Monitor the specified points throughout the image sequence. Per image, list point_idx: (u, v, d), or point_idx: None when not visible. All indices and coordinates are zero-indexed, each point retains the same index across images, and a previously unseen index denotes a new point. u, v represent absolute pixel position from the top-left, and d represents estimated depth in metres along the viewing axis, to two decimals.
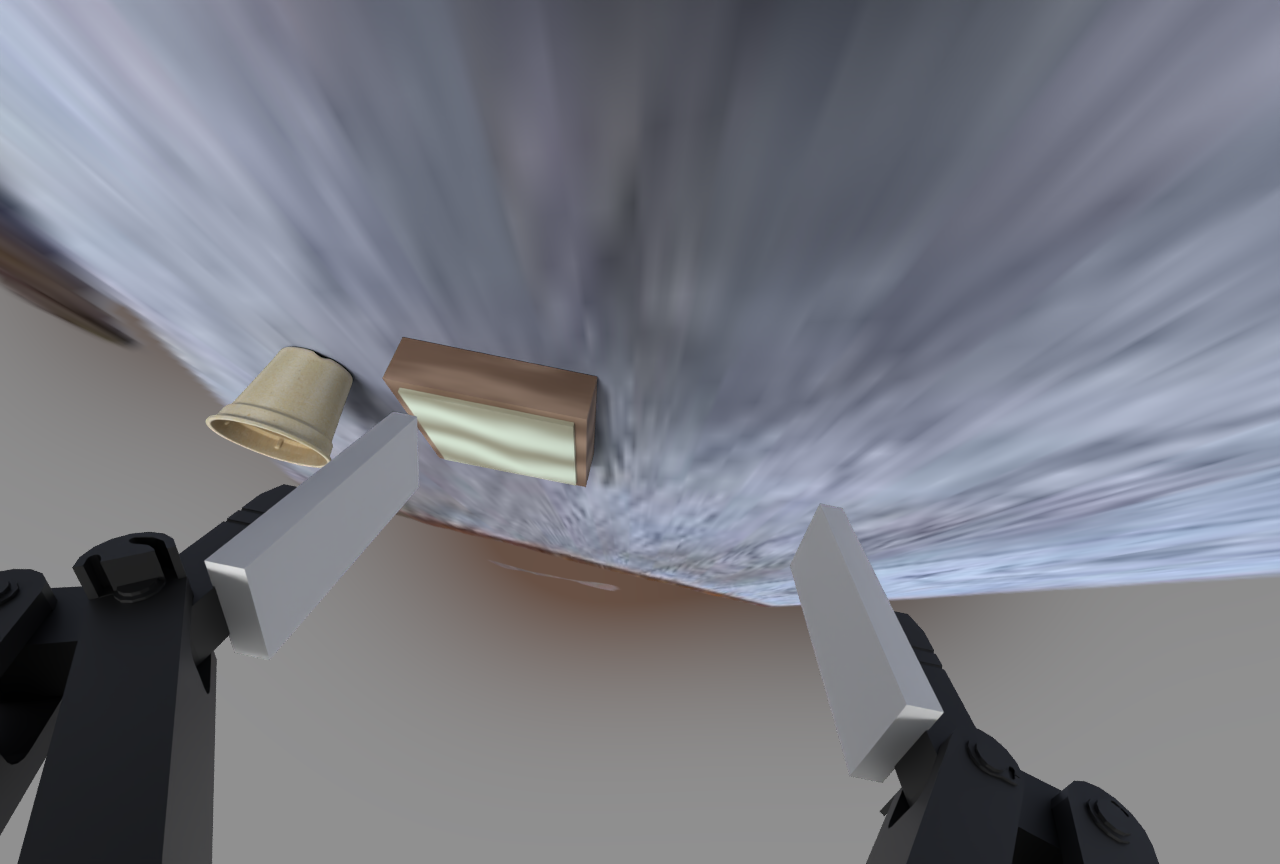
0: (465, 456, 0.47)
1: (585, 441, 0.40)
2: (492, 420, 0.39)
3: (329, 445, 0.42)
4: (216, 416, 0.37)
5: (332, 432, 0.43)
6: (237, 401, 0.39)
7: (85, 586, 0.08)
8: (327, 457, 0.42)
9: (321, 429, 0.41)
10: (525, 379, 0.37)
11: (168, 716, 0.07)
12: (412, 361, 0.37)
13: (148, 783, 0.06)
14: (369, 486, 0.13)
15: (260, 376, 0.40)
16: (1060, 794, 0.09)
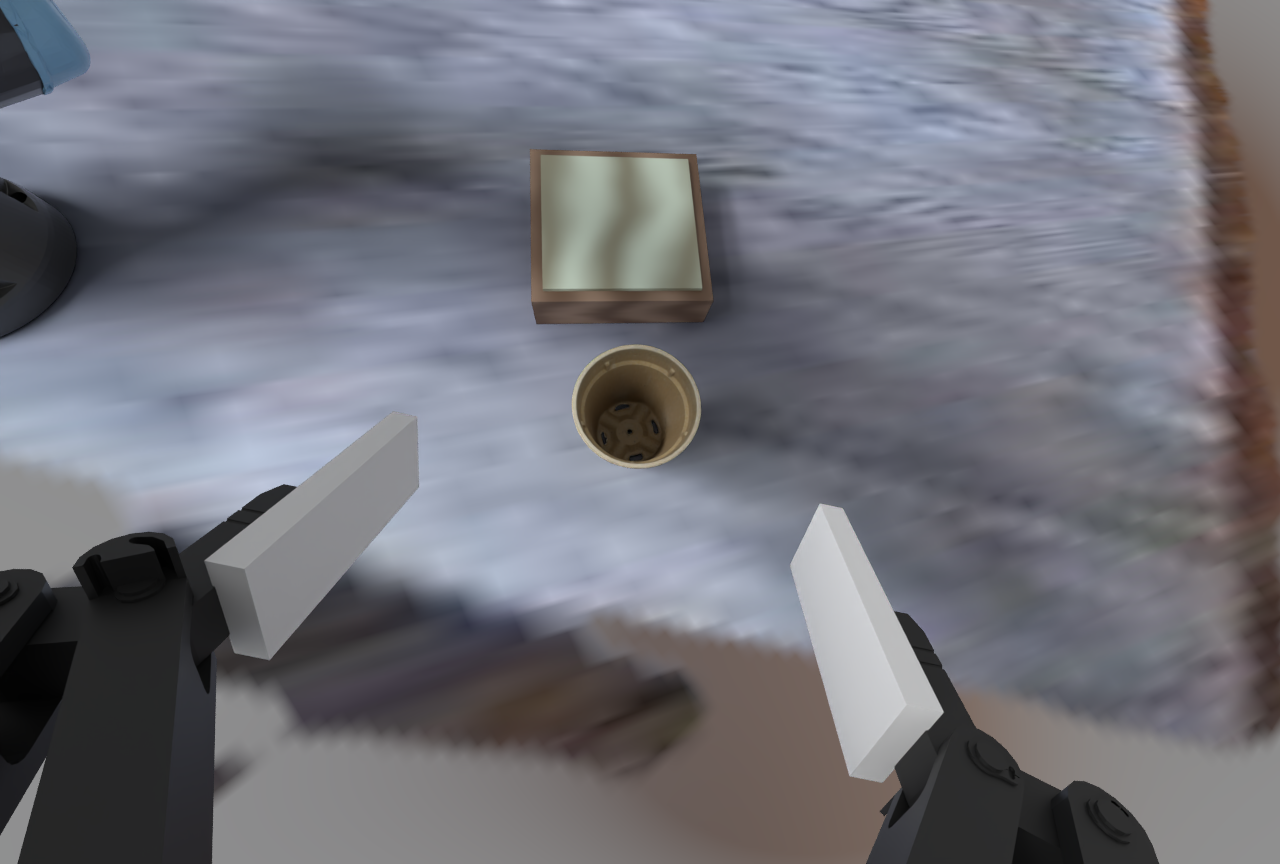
0: (675, 261, 0.42)
1: (575, 151, 0.45)
2: (562, 217, 0.42)
3: (642, 357, 0.36)
4: None
5: (642, 369, 0.38)
6: None
7: (85, 586, 0.08)
8: (640, 345, 0.35)
9: (621, 366, 0.37)
10: None
11: (168, 716, 0.07)
12: None
13: (149, 782, 0.06)
14: (369, 486, 0.13)
15: None
16: (1060, 794, 0.09)
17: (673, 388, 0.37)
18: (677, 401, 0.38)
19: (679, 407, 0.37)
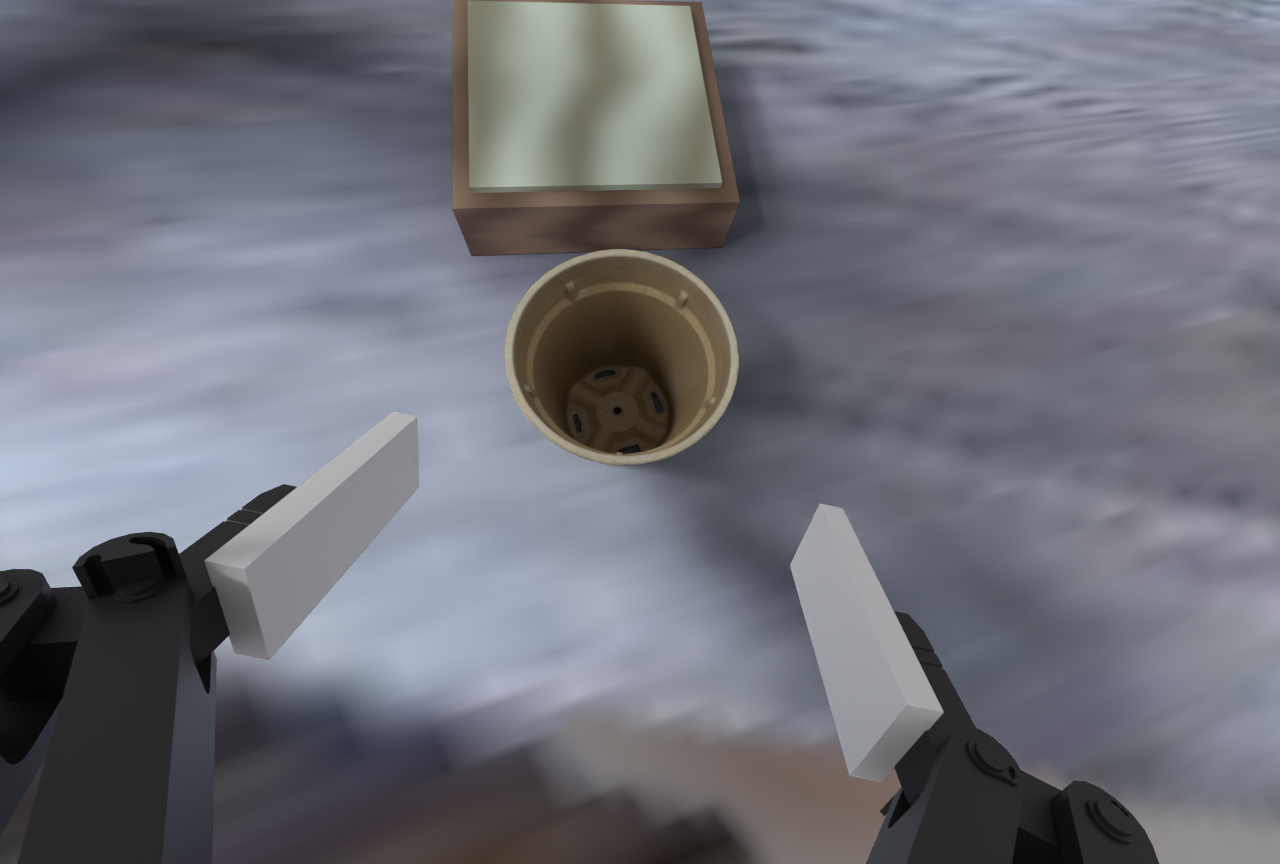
0: (678, 145, 0.27)
1: None
2: (500, 84, 0.27)
3: (630, 276, 0.21)
4: (517, 402, 0.18)
5: (633, 300, 0.22)
6: None
7: (85, 586, 0.08)
8: (626, 250, 0.20)
9: (596, 294, 0.22)
10: None
11: (168, 716, 0.07)
12: None
13: (150, 782, 0.06)
14: (369, 486, 0.13)
15: None
16: (1060, 794, 0.09)
17: (685, 330, 0.22)
18: (693, 351, 0.23)
19: (697, 362, 0.22)
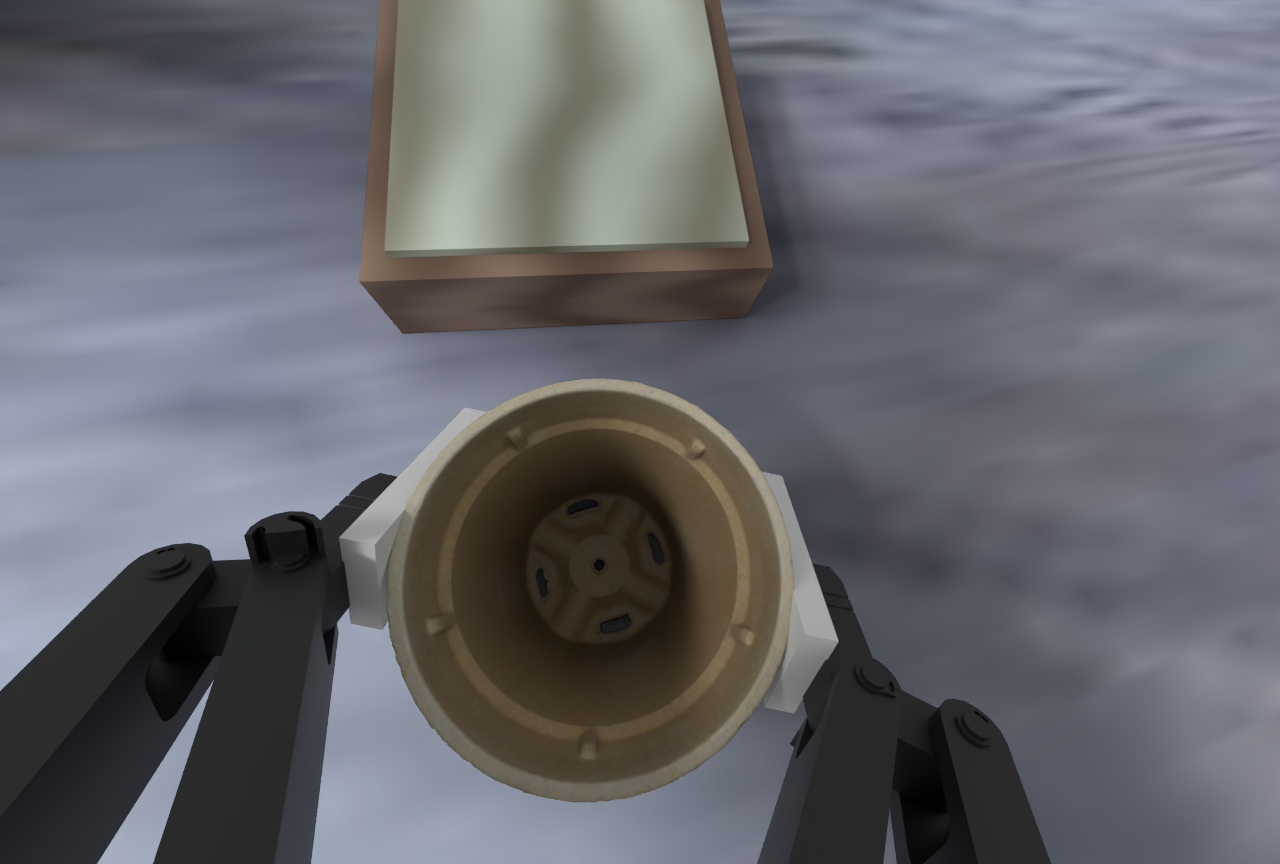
0: (686, 186, 0.19)
1: None
2: (438, 101, 0.20)
3: (613, 411, 0.13)
4: (405, 676, 0.10)
5: None
6: None
7: (251, 553, 0.09)
8: (605, 380, 0.12)
9: (561, 434, 0.14)
10: None
11: (299, 684, 0.07)
12: None
13: (278, 744, 0.07)
14: None
15: None
16: (935, 714, 0.09)
17: (699, 485, 0.14)
18: (711, 516, 0.15)
19: (717, 535, 0.14)
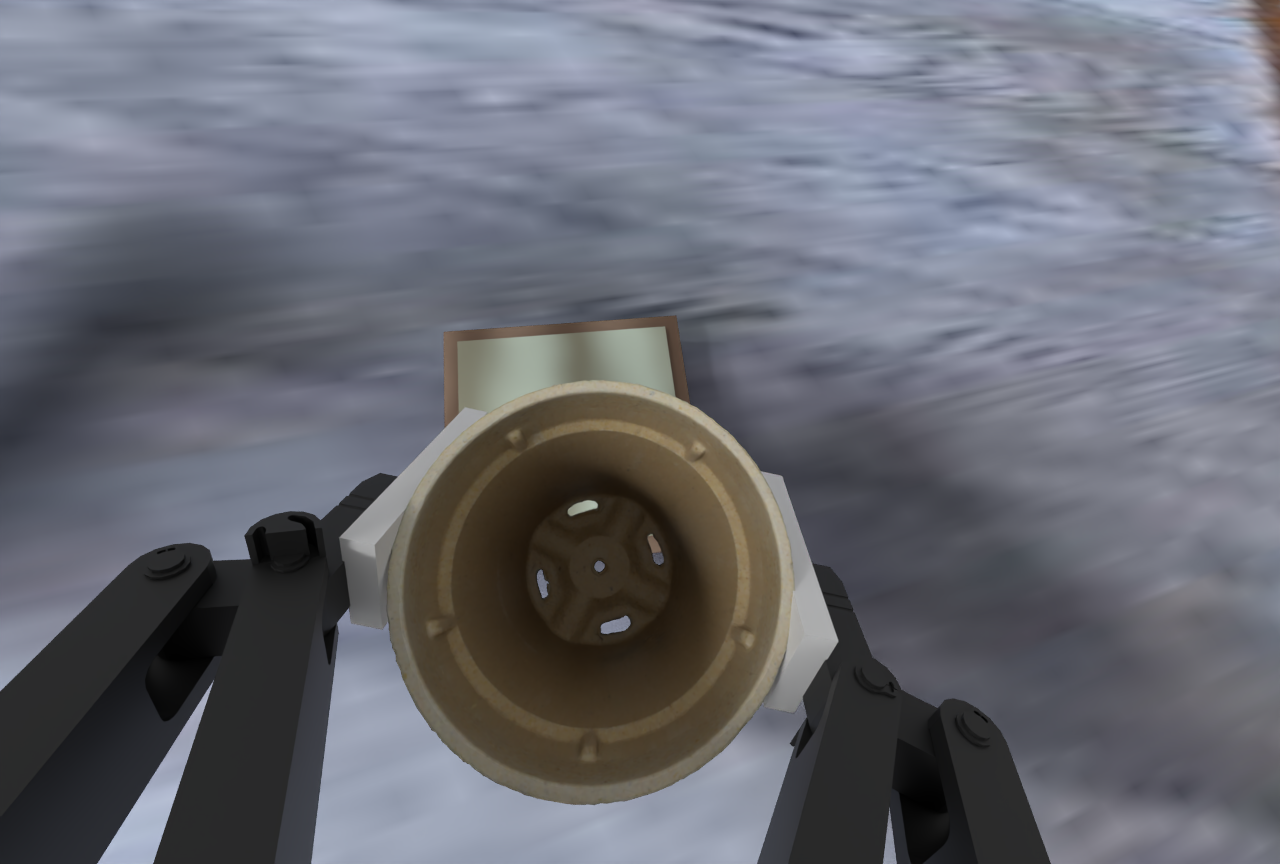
0: None
1: (507, 328, 0.32)
2: None
3: (614, 413, 0.13)
4: (405, 678, 0.10)
5: None
6: None
7: (251, 553, 0.09)
8: (606, 382, 0.12)
9: (561, 436, 0.14)
10: None
11: (299, 684, 0.07)
12: None
13: (278, 744, 0.07)
14: None
15: None
16: (935, 714, 0.09)
17: (699, 486, 0.14)
18: (711, 518, 0.15)
19: (718, 536, 0.14)
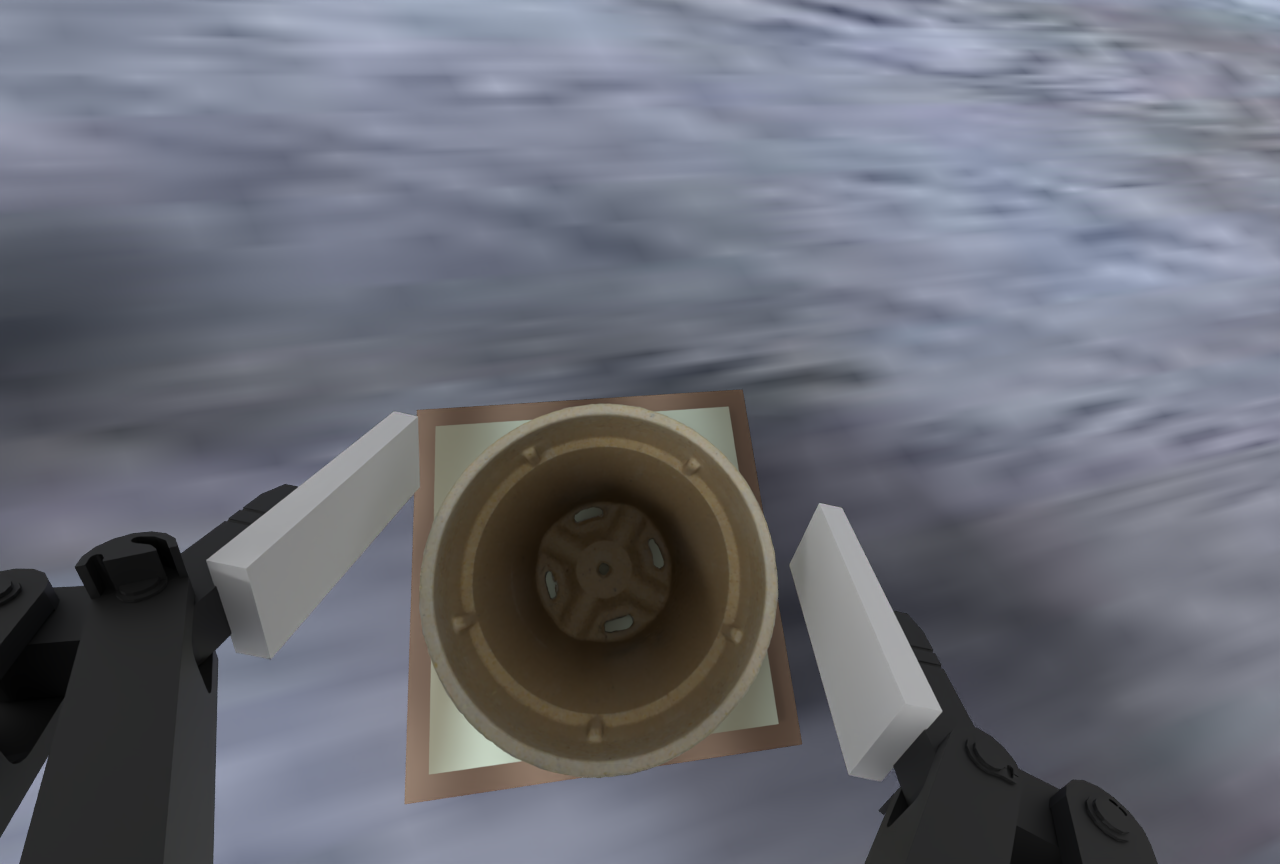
0: None
1: (507, 406, 0.23)
2: None
3: None
4: (435, 667, 0.12)
5: None
6: None
7: (87, 585, 0.08)
8: (611, 405, 0.14)
9: (570, 451, 0.15)
10: None
11: (170, 715, 0.07)
12: None
13: (150, 781, 0.06)
14: (370, 486, 0.13)
15: (517, 627, 0.16)
16: (1058, 793, 0.09)
17: (695, 497, 0.16)
18: (706, 525, 0.16)
19: (712, 543, 0.16)
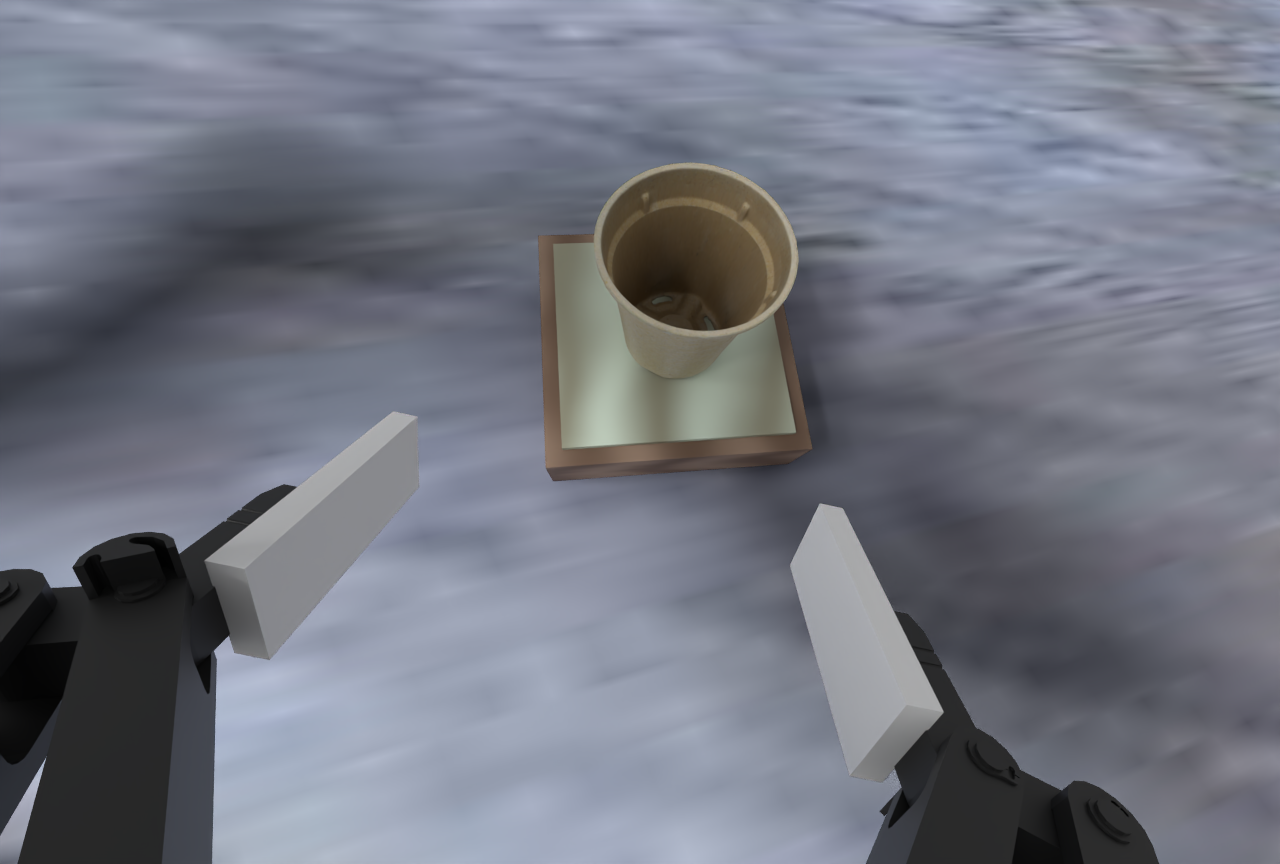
0: (753, 392, 0.29)
1: None
2: (586, 334, 0.29)
3: (697, 191, 0.24)
4: (605, 285, 0.21)
5: (697, 217, 0.25)
6: None
7: (85, 586, 0.08)
8: (696, 164, 0.23)
9: (665, 209, 0.24)
10: None
11: (168, 716, 0.07)
12: None
13: (149, 782, 0.06)
14: (369, 486, 0.13)
15: (628, 331, 0.25)
16: (1060, 794, 0.09)
17: (743, 243, 0.25)
18: (750, 263, 0.25)
19: (754, 271, 0.25)
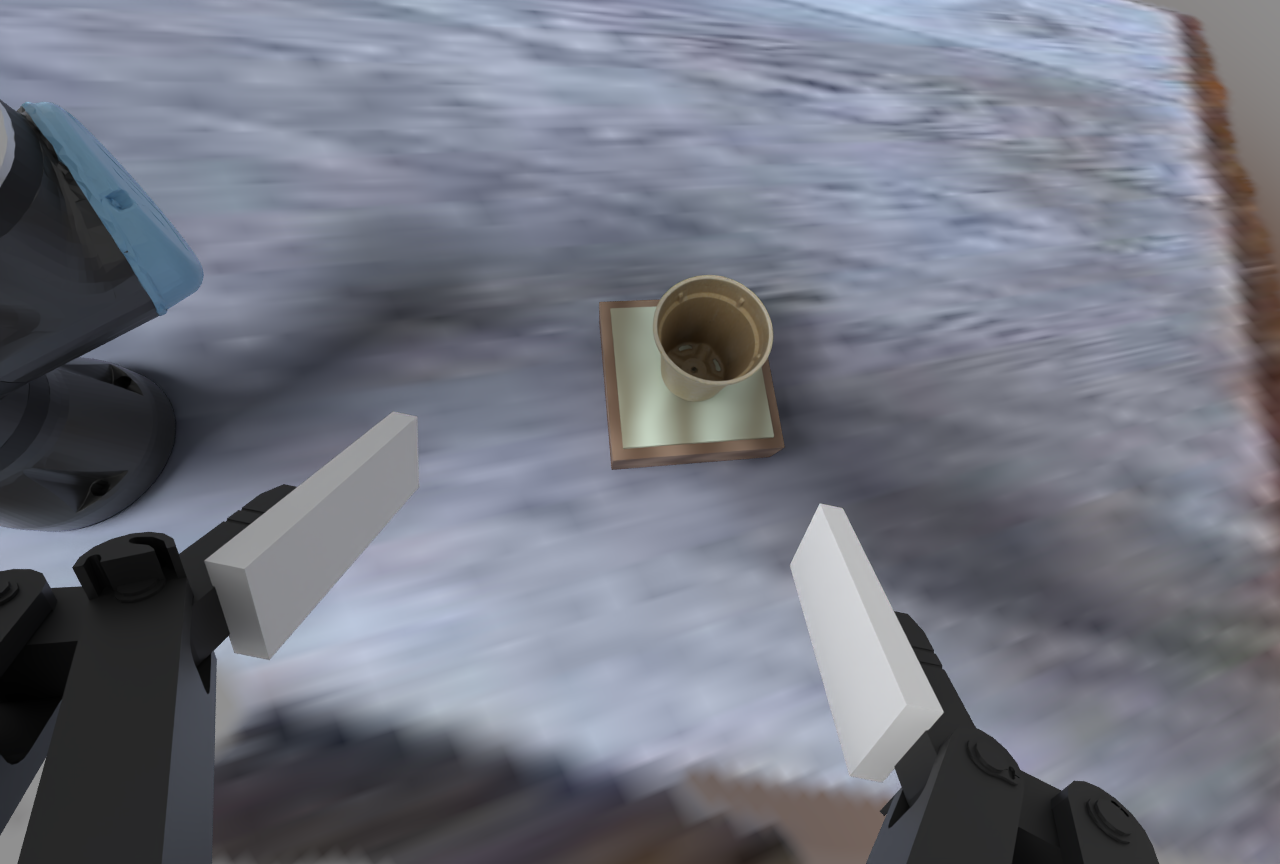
0: (746, 410, 0.44)
1: (642, 301, 0.47)
2: (635, 371, 0.44)
3: (712, 289, 0.39)
4: (661, 354, 0.35)
5: (711, 302, 0.40)
6: None
7: (85, 586, 0.08)
8: (712, 275, 0.38)
9: (692, 299, 0.39)
10: (603, 363, 0.47)
11: (168, 716, 0.07)
12: (610, 448, 0.44)
13: (149, 782, 0.06)
14: (369, 486, 0.13)
15: (667, 374, 0.40)
16: (1060, 794, 0.09)
17: (740, 319, 0.40)
18: (744, 331, 0.40)
19: (747, 337, 0.40)
